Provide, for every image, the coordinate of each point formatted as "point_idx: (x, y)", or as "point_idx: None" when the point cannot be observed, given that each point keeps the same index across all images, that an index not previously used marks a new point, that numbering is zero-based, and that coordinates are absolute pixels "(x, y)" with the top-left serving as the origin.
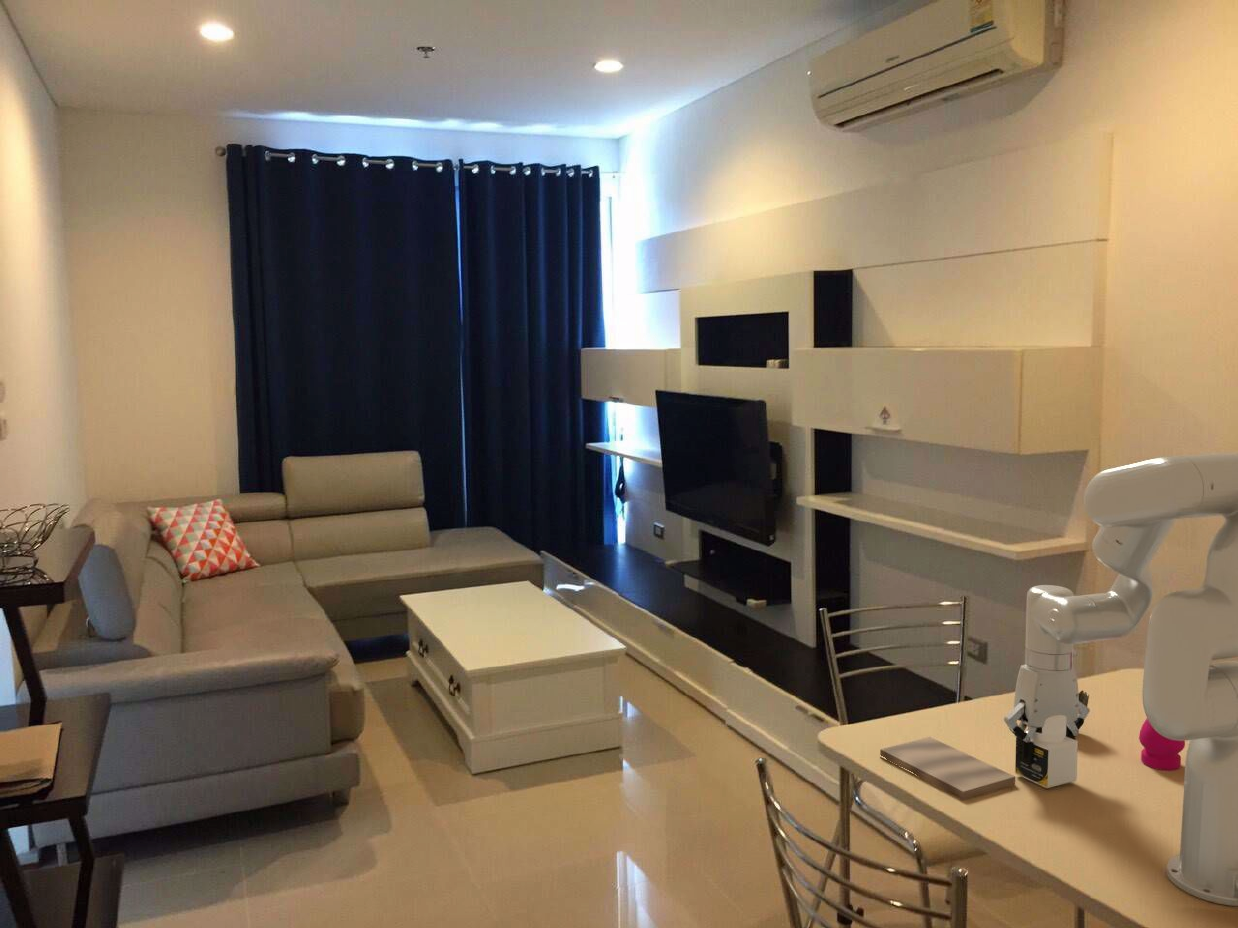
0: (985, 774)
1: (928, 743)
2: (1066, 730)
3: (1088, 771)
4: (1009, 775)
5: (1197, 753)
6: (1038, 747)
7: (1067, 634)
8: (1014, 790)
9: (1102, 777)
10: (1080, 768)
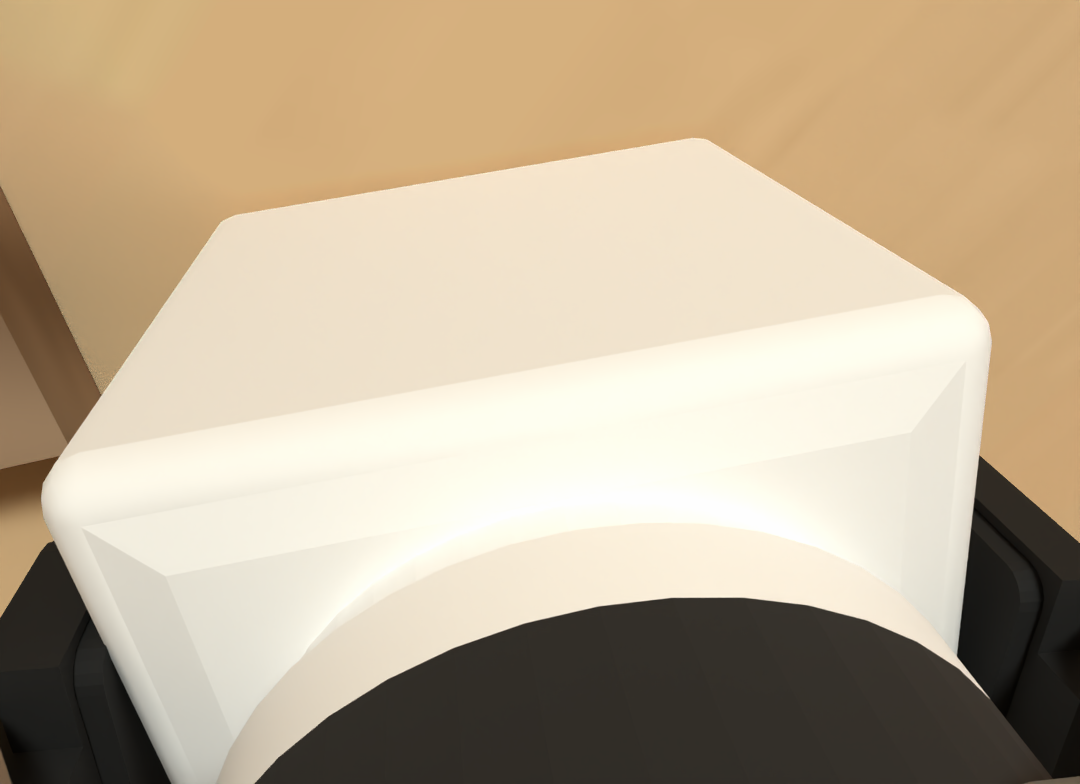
0: None
1: None
2: (1055, 778)
3: (1040, 317)
4: (10, 413)
5: None
6: None
7: None
8: (36, 500)
9: (1026, 451)
10: (1041, 236)
